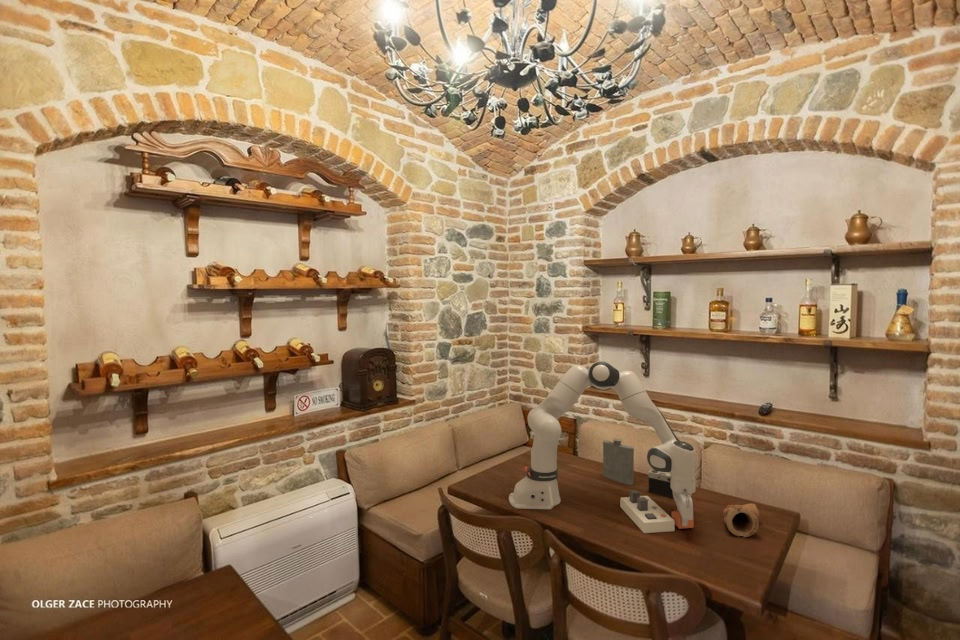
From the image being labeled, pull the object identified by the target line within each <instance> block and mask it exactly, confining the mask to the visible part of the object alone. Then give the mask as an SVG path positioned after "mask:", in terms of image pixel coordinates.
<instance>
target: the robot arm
mask: <svg viewBox="0 0 960 640" xmlns="http://www.w3.org/2000/svg"><path fill="white" fill-rule="evenodd" d="M589 387H590V388H593V389H596V390H599V391H609V390H611V389H612V390H613V391H615V393H616V394H617V396H618V398H619V401H620V403H621V405H622V407H623V409H624V411H625V412H626V413H627V415H629V416H630V417H632V418H635V419H639V420H642V421H645V422H646V423H648V424H649V425H651V427H652V428H653V430H654V432H655V433H656V435H657V437H658V439H659V440H660V442H661V444H658V445H656V446H653V447H652V448H650V449H649V450H648V451H647V453H646V454H647V455H646V459H647V463H648V464H649V467H651V469H652V470H656V471H660V472H666V473H670V474H671V476H670V488H671V489H672V492H673V497H674V499H673V500H674V502H675V504H676V509H677V510H676V511H680V514H681V516H682V525H683V526H687V522H688V520H692V519H693V517H694V505H693V503H694V502H693V498H692V497H691V496H692V494H694V493H695V492H696V484H697V483H696V482H697V481H696V478H697V477H696V475H695V473H696V472H695V471H696V470H697V465H696V464H697V462H696V461H697V457H696V451H695V448H694V447H693V445H691V443H689V442H686V441H682V440H680V439H679V438H678V437H677V436H676V434H675V432H674V430H673V429H672V427H671V426H670V425H669V423H668V420H667V419H666V418H665V416H664V415H663V413H662V411H661V410H660V409H659V408H658V406H656V405H655V403H654V402H653V401H652V400H651V398H650V396H649V394H648V393H647V391H646V389H645V387H644V385H643V382H642V381H641V380H640V379H639V377H638V376H637V374H636V372H634V371H631V370H623V371H620V370H618V369H617V368H616V367H614V366H613V365H612V364H610V363H608V362H606V361H597V362H594V363H593V364H591V366H590V367H589V368H586V367H585V366H583V365H579V364H574V365H573V366H571V367H570V368H569V369H568V370H567V371H566V372H565V373H564V374H563V375H562V377H560V379H559V381H558V382H557V384H555V385H554V387H553V389H552V390H551V391H550V393H549V394H548V395H547V396H546V397H545V398H544V399H543V400H542V401H541V402H540V403H539V404H538V405H537V406H536V407H535V408H534V407H533V408H532V409H531V410H529V412H528V414H527V417H526V419H527V423H528V427H529V429H530V430H531V431H532V433H533V442H532V447H531V450H530V467H528V466H524V467H523V470H524V472H525V473H526V476H525V477H523V478H522V479H521V480H519V481H518V482H517V483H516V484H515V485H514V489H513V492H510V493H509V495H508V502H509V504H510V505H511V507H513V508H514V509H517V510H518V509H520V510H521V509H522V510H552V509H553V508H555V506H557V505H559V504H560V503H561V501H562V499H561V496H560V492H559V487H558V481H559V470H558V467H557V466H558V465H557V464H558V462H557V461H558V459H557V455H558V454H557V453H558V445H559V440H560V438H561V436H562V426H561V423H560V422H559V419H560V418H561V417H562V416H563V415H565V414H566V413H568V412H569V411H571V410H572V408H573V407H574V406H575V404H576V402H577V401H578V400H579V398H581V396H582V394H583V393H584V391H585V390H586V389H587V388H589Z"/></svg>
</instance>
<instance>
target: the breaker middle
mask: <svg viewBox="0 0 960 640" xmlns="http://www.w3.org/2000/svg"><path fill="white" fill-rule="evenodd" d="M637 508H638V510H639V511H648V500H647V499H646V498H645V497H638V498H637Z"/></svg>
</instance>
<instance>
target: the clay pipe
mask: <svg viewBox="0 0 960 640" xmlns="http://www.w3.org/2000/svg"><path fill="white" fill-rule="evenodd" d="M722 514H723V522H724V523H725V524H726V528H727V529H728V531H729V532H731V534H733V535H734V536H736V537H740V536H744V537H743V538H748V537H751V536H752V535H755V533H756V532H757V531H758V529H759V525H760V524H759V520H760V515H761V513H760V511H759V509H758V508H757V505H756V504H755V503H746V504H742V505H741V504H735V505H734V504H729V505H726V508H724V509H723V511H722Z"/></svg>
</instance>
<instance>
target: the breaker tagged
mask: <svg viewBox="0 0 960 640" xmlns="http://www.w3.org/2000/svg"><path fill="white" fill-rule="evenodd" d="M645 517H646V518H647V519H648V520H650V519H656V516H655V515H654V514H653V513H648V514H645Z"/></svg>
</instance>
